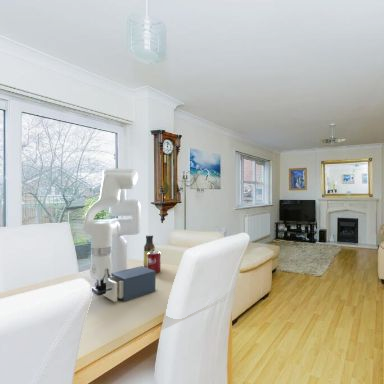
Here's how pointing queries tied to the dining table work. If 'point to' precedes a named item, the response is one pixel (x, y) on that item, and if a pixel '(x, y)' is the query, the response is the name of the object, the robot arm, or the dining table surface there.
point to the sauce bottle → (148, 248)
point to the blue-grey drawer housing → (136, 281)
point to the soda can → (154, 261)
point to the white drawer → (112, 288)
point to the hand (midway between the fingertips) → (101, 293)
